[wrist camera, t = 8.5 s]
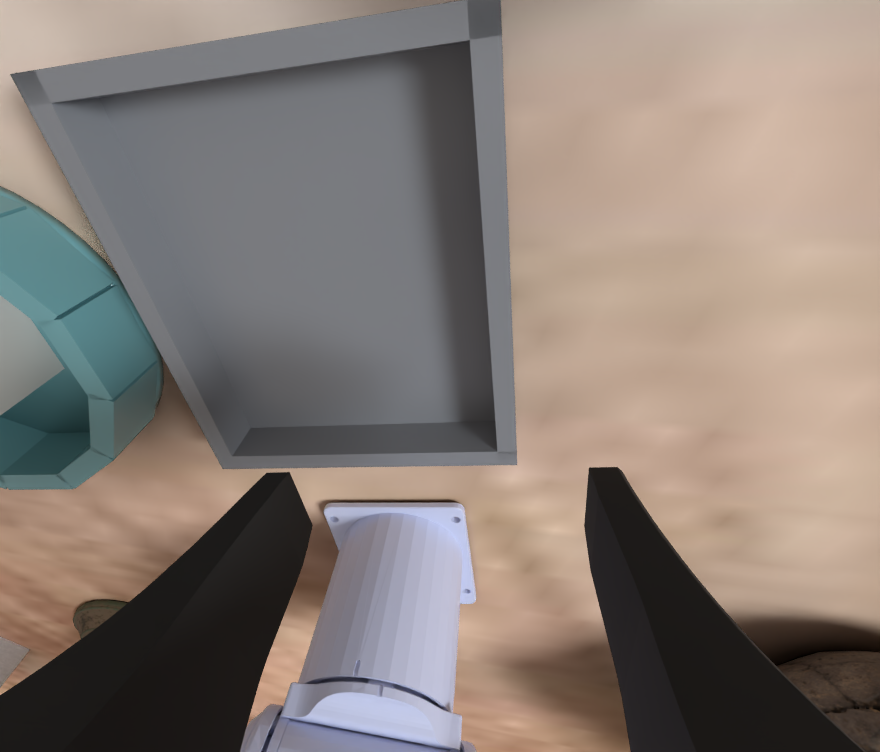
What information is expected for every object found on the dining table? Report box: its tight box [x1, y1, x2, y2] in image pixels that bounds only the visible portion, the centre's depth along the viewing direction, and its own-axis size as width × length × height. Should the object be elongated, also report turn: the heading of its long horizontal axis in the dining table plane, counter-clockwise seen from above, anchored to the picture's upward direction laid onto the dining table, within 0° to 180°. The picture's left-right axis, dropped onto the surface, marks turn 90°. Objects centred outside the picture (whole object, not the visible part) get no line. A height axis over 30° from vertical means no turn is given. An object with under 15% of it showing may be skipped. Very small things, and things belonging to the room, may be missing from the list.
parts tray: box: [10, 0, 517, 469], centre depth 18 cm, size 16×14×2 cm
